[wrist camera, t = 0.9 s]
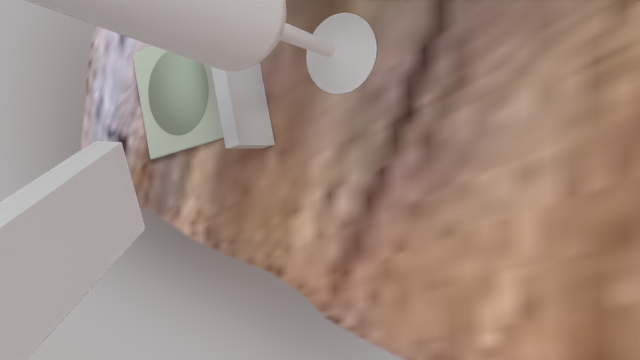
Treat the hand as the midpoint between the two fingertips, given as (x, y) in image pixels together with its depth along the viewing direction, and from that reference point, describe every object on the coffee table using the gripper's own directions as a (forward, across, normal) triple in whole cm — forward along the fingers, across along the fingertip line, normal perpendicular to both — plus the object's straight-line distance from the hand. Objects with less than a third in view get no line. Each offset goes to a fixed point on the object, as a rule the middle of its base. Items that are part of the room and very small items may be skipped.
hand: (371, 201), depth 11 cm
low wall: (+29, -13, -5) cm, 33 cm away
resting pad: (+32, -22, -8) cm, 40 cm away
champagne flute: (+27, -4, -2) cm, 28 cm away
